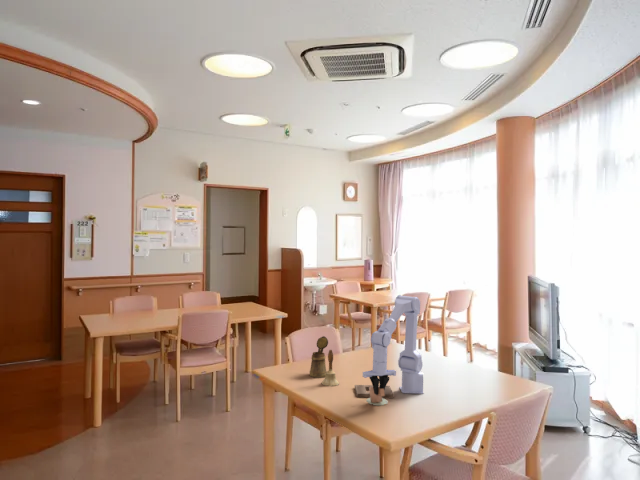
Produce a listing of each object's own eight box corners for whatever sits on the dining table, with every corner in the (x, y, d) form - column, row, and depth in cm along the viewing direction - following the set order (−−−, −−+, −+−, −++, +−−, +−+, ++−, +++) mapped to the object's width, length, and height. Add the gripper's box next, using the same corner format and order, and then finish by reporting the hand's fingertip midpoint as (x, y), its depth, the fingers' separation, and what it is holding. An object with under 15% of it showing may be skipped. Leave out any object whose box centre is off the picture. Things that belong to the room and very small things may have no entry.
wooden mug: (331, 371, 234) (332, 336, 234) (324, 378, 221) (325, 342, 221) (315, 369, 236) (316, 335, 237) (306, 376, 223) (307, 340, 224)
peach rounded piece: (368, 402, 190) (367, 387, 191) (379, 400, 191) (377, 385, 193) (378, 403, 181) (376, 387, 183) (389, 402, 183) (387, 386, 185)
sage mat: (385, 398, 196) (385, 397, 196) (389, 405, 187) (389, 405, 187) (365, 397, 195) (365, 396, 195) (367, 405, 186) (367, 404, 186)
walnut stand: (389, 388, 208) (389, 385, 208) (393, 397, 196) (393, 394, 196) (354, 388, 208) (354, 384, 208) (357, 397, 196) (357, 393, 196)
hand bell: (324, 386, 209) (325, 352, 209) (319, 381, 217) (320, 348, 217) (341, 385, 211) (342, 351, 211) (336, 380, 219) (337, 347, 219)
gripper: (390, 357, 193) (389, 389, 192) (359, 359, 188) (358, 392, 187) (399, 361, 186) (397, 394, 186) (367, 363, 181) (366, 397, 181)
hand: (378, 393), depth 186 cm, fingers closed on peach rounded piece, 2 cm apart
